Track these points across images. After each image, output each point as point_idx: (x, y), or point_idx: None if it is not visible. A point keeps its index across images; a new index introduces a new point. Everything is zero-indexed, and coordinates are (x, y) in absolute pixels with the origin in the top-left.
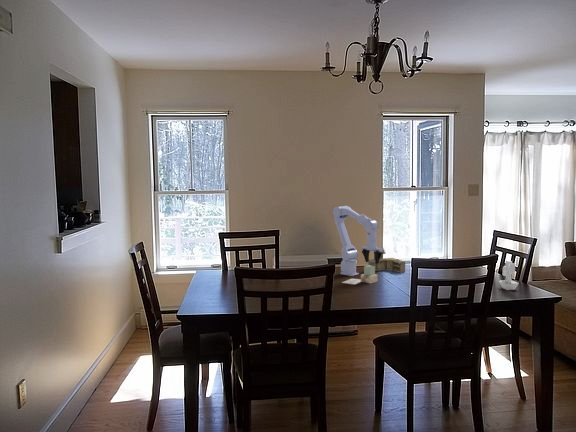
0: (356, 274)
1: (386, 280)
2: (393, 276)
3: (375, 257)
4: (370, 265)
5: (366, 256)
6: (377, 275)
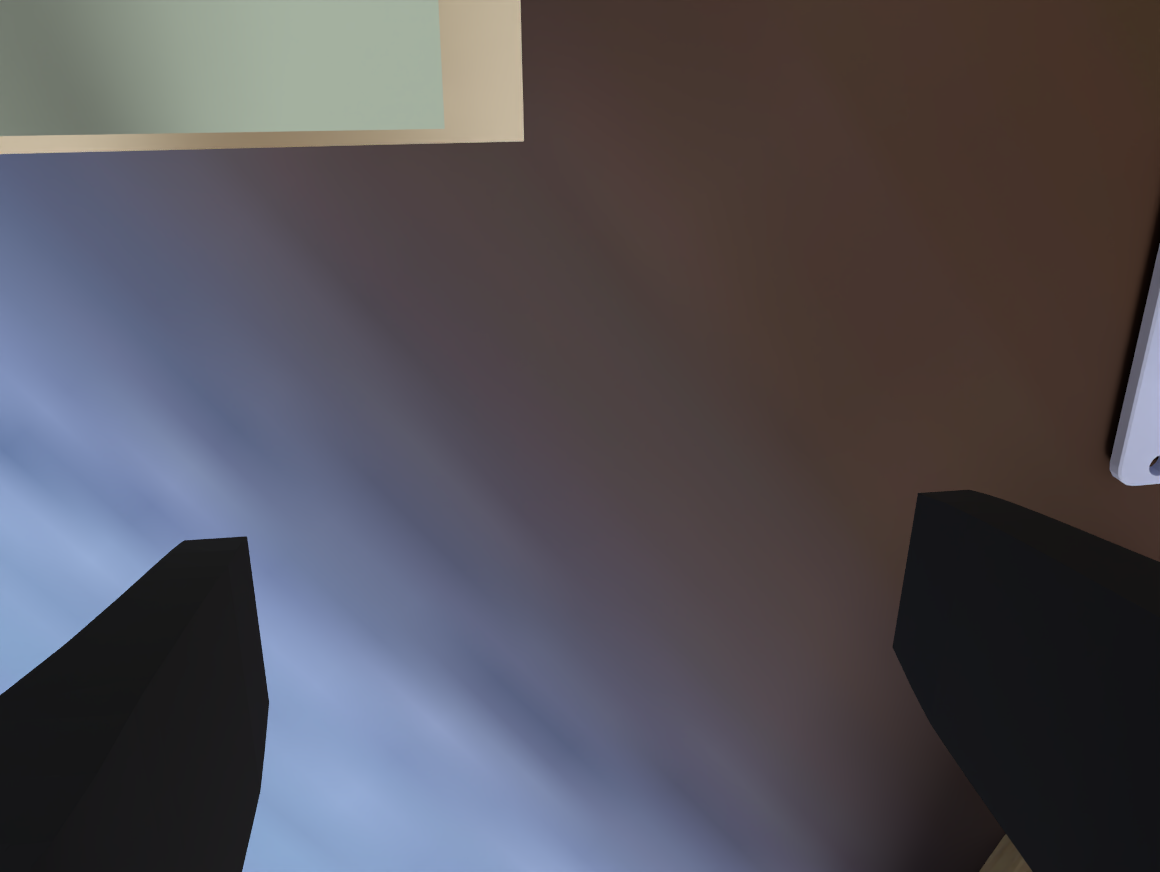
0: (1134, 363)
1: (4, 419)
2: (252, 856)
3: (60, 749)
4: (302, 121)
5: (1128, 725)
6: (5, 137)
